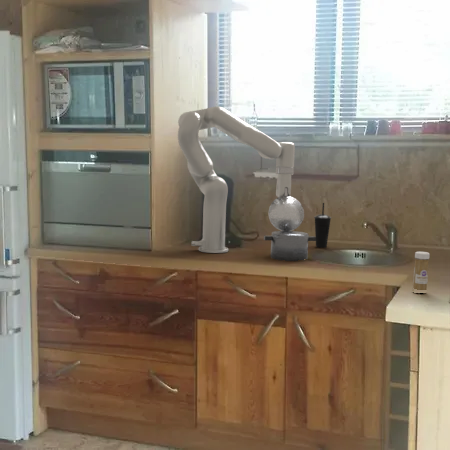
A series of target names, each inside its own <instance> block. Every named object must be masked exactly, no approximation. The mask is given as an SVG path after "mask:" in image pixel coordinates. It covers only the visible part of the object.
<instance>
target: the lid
mask: <svg viewBox="0 0 450 450" xmlns="http://www.w3.org/2000/svg"><path fill="white" fill-rule="evenodd" d="M267 213H268V219H269V222H270V223H271V225H272V226H273V227H274V228H275V229H277V230H278V231H295V230H296V229H298V227H300V226H301V225H302V223H303V221H304V219H305V210H304V207H303V204H302V203H301V202H300V201H299V200H298V199H297V198H295V197H293V196H291V195H290V196H281V197H277V198H275V199H274V200H273V201H272V202H271V204H270V206H269V209H268V211H267Z"/></svg>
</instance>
